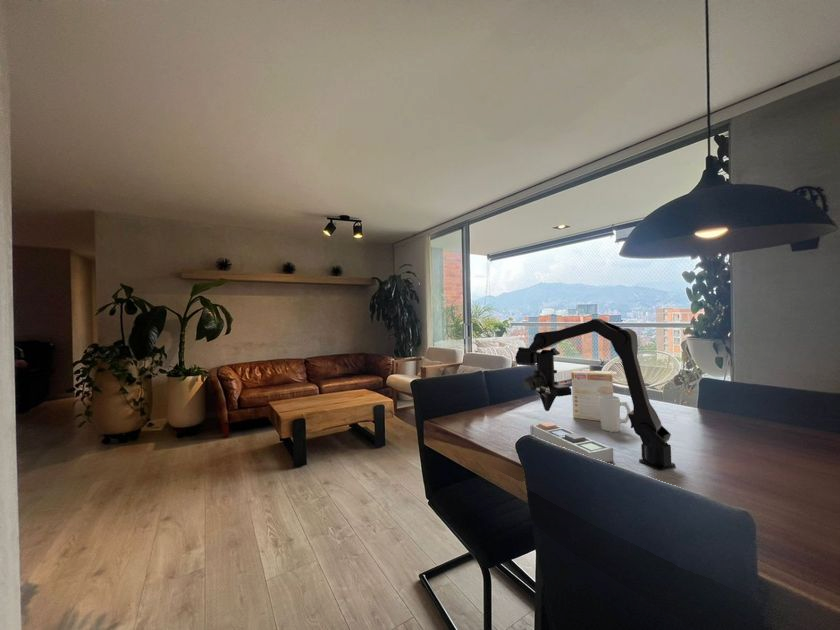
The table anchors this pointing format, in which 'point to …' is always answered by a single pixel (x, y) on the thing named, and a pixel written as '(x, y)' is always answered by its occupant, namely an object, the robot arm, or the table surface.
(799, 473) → the table surface
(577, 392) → the coffeecake box
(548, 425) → the key terracotta
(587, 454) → the keypad
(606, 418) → the mug
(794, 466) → the table surface
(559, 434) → the key blue
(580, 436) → the key charcoal
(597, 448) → the key sage
